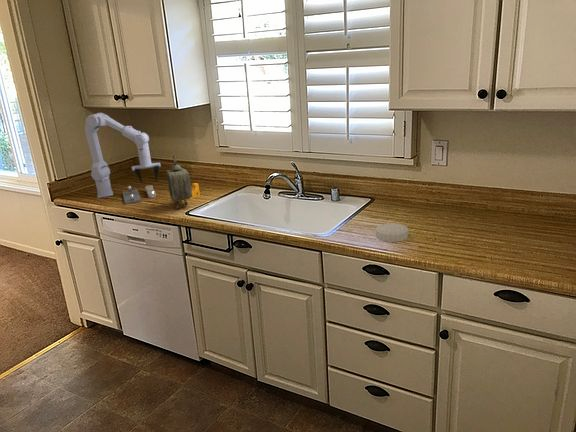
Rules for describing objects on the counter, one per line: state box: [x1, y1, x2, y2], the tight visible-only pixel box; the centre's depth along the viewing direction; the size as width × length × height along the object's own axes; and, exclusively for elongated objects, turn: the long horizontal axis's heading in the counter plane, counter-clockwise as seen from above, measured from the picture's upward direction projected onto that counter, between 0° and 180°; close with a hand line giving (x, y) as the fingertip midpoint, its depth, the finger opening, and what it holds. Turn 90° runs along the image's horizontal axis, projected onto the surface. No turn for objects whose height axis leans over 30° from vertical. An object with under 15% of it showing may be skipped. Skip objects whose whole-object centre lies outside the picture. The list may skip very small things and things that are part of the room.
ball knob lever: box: [145, 184, 157, 199], centre depth 253 cm, size 15×4×3 cm, turn 21°
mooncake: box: [375, 222, 409, 243], centre depth 177 cm, size 12×12×4 cm
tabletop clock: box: [165, 154, 192, 210], centre depth 227 cm, size 14×9×25 cm, turn 21°
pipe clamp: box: [180, 182, 201, 203], centre depth 241 cm, size 12×4×6 cm, turn 143°
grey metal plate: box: [122, 185, 142, 205], centre depth 250 cm, size 23×8×4 cm, turn 21°
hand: (148, 181), depth 252 cm, fingers open, 7 cm apart
